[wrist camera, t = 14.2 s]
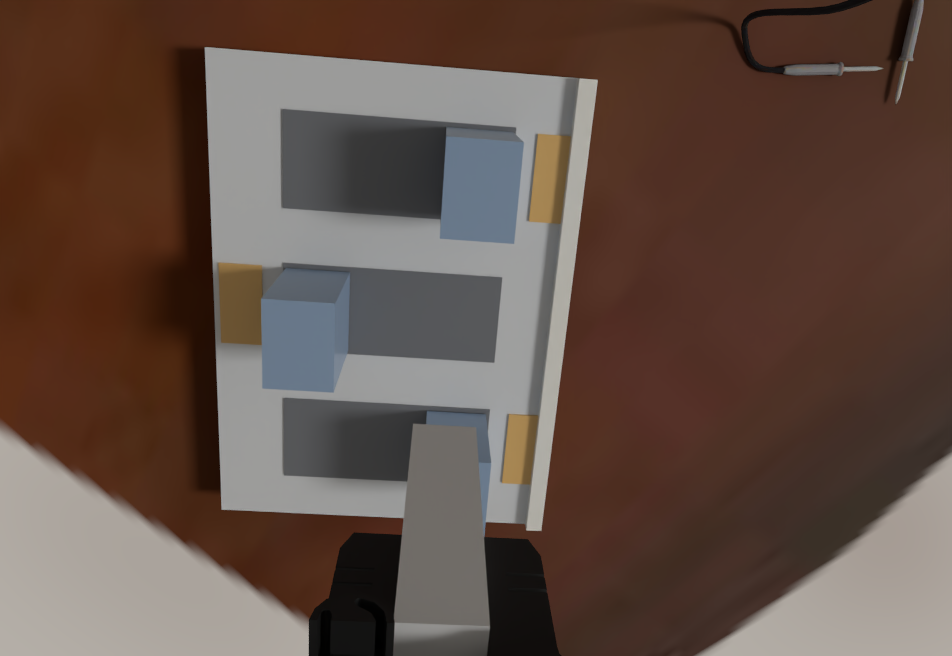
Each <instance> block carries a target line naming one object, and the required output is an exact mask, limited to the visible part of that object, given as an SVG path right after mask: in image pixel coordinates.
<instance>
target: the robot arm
mask: <svg viewBox="0 0 952 656" xmlns="http://www.w3.org/2000/svg"><path fill="white" fill-rule="evenodd" d="M309 656H561V655H560V654H559V651H558V648H557V644H556V639H555V633H554V627H553V622H552V616H551V611H550V605H549V600H548V594H547V589H546V583H545V578H544V572H543V566H542V561H541V556H540V554H539V553H538V552H537V551H536V549H535V548H534V547H533V546H532V544H531V543H530V542H529V540H528V539H510V538H490V537H484V533H483V518H482V504H481V490H480V475H479V461H478V447H477V432H476V427H463V426H446V425H428V424H413V430H412V440H411V450H410V460H409V470H408V480H407V490H406V500H405V510H404V520H403V530H402V535H392V534H371V533H353V534H352V535H351V537H350V538H349V539H348V540H347V541H346V542H345V543H344V544H343V545H342V547H341V548H340V551H339V555H338V560H337V564H336V570H335V573H334V578H333V583H332V586H331V591H330V595H329V599H326V600H325V601H324V602H322V603H321V604H320V605H319V606H317V607H316V608H315V609H314V611H313V613H312V615H311V617H310V619H309Z"/></svg>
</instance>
